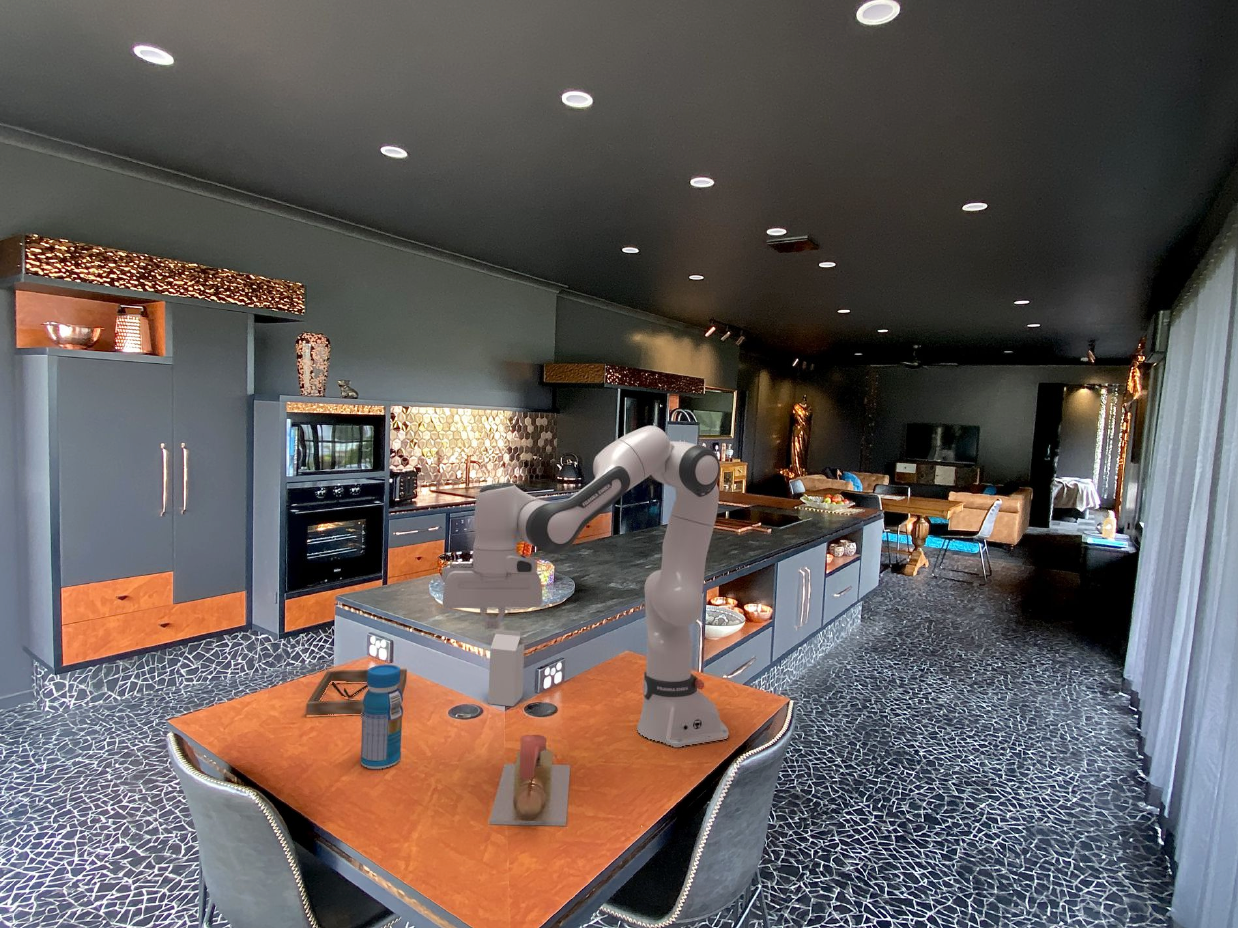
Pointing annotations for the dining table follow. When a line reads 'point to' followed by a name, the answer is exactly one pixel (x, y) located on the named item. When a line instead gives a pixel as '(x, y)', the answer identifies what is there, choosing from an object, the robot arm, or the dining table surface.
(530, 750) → the lever
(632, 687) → the dining table surface
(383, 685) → the beverage bottle
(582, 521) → the robot arm
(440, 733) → the dining table surface
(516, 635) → the milk carton
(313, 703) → the glasses tray
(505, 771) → the valve body
